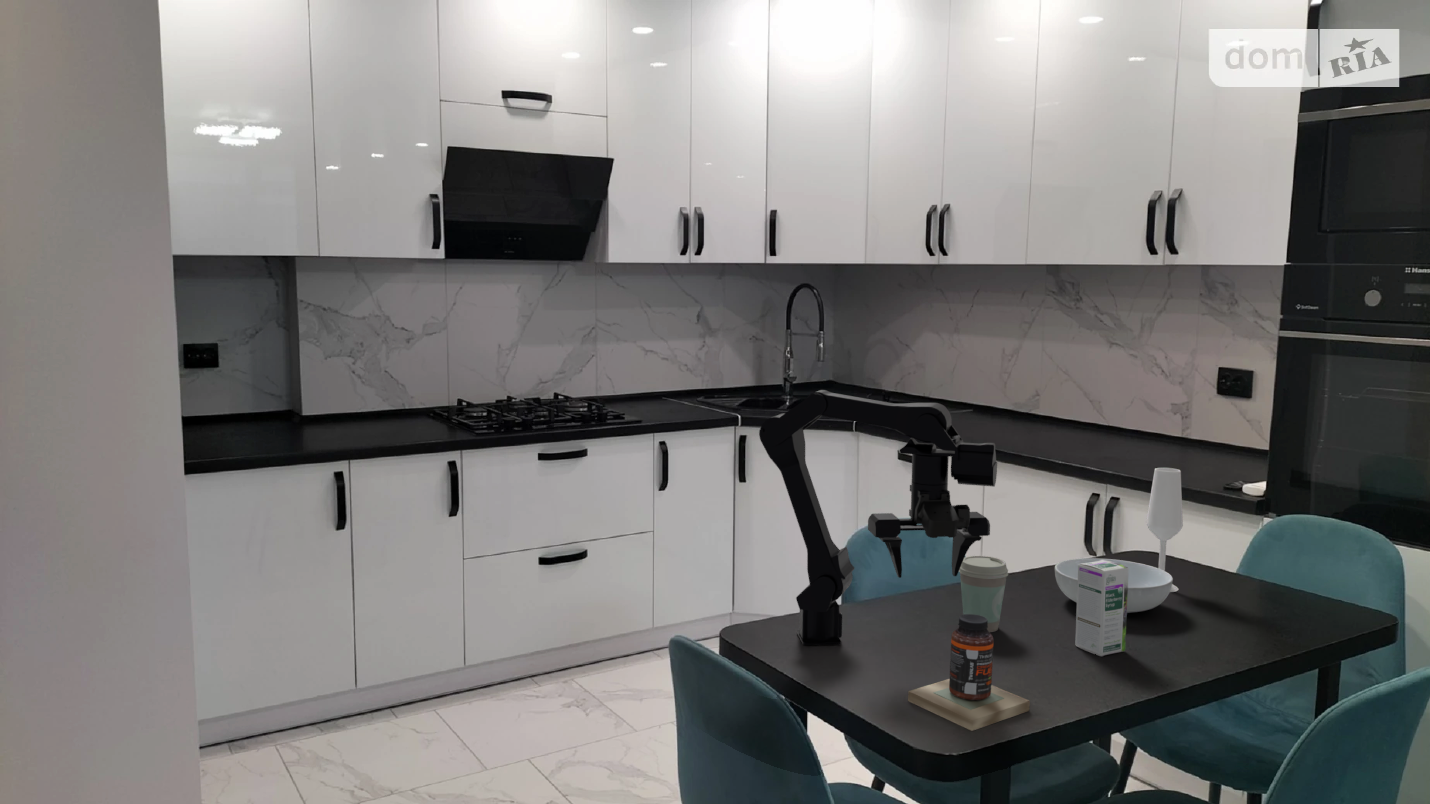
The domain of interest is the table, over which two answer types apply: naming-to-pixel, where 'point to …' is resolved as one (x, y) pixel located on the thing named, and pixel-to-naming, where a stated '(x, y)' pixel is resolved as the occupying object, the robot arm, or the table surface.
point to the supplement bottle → (971, 658)
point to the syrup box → (1101, 607)
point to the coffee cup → (983, 587)
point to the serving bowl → (1143, 582)
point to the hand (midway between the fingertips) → (927, 576)
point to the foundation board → (968, 705)
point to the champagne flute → (1165, 509)
